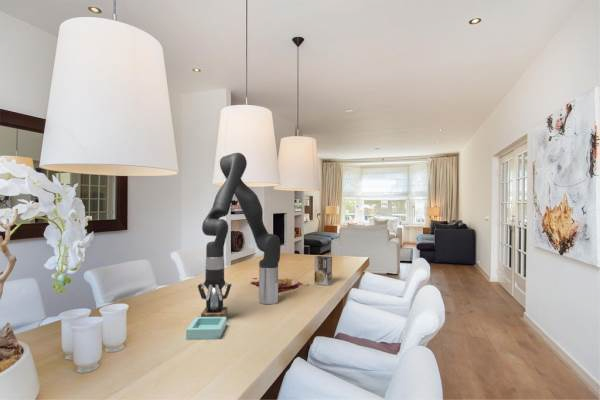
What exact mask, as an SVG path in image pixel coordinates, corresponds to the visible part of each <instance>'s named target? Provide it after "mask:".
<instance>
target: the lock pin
mask: <svg viewBox="0 0 600 400" xmlns="http://www.w3.org/2000/svg"><path fill="white" fill-rule="evenodd" d="M219 300H220V299H219V296H218V293H217V289H216V287H212V289H211V293H210V313H220V309H219Z"/></svg>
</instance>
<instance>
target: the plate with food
mask: <svg viewBox="0 0 600 400" xmlns="http://www.w3.org/2000/svg"><path fill="white" fill-rule="evenodd" d="M252 279H253V280H257V281H250V284H252V285H256V286H257V287H259V277H256V278H255V277H252ZM309 285H310V283H307V284H306V286H309ZM300 286H301V288H302V287H304V286H305V284H303V283H301V281H299V280H297V279H296V278H295V279H294V278H288V277H278V292H282V291H288V290H293V289H294V290H296V289H298V288H299V287H300Z"/></svg>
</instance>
